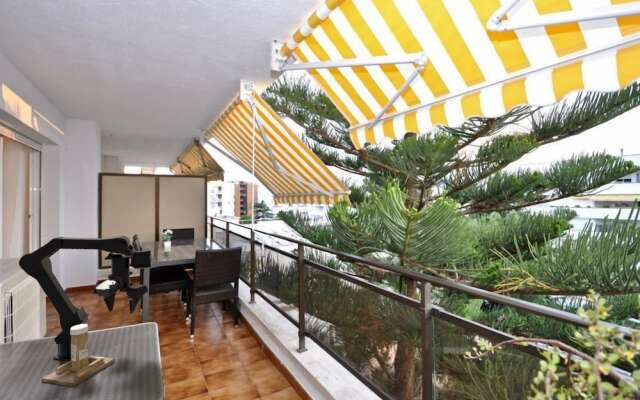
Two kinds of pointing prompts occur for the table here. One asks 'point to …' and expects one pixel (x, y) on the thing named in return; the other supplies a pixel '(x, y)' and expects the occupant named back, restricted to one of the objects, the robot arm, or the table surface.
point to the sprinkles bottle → (79, 346)
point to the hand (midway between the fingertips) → (121, 312)
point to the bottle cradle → (73, 378)
